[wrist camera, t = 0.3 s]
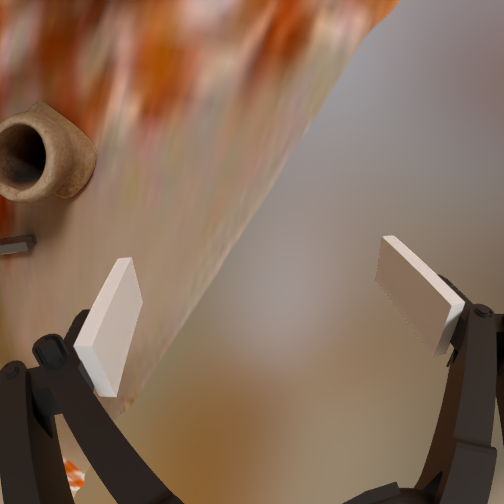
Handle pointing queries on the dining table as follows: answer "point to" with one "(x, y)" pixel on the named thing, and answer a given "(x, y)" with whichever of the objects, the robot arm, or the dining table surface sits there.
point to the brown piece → (43, 156)
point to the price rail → (17, 244)
